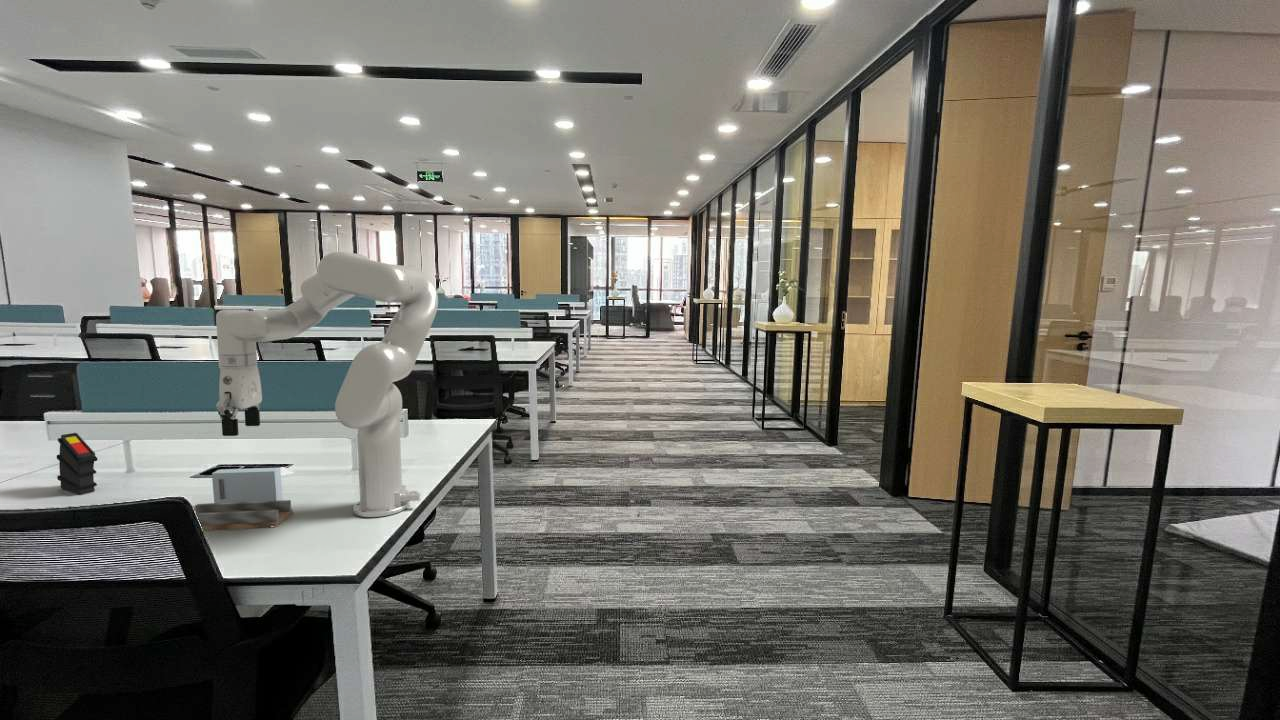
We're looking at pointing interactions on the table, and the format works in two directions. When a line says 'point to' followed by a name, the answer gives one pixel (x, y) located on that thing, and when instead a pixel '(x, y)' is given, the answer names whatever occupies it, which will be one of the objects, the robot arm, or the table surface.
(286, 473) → the external hard drive
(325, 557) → the table surface
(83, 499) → the table surface
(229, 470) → the door panel
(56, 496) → the table surface
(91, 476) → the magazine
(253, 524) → the track base
